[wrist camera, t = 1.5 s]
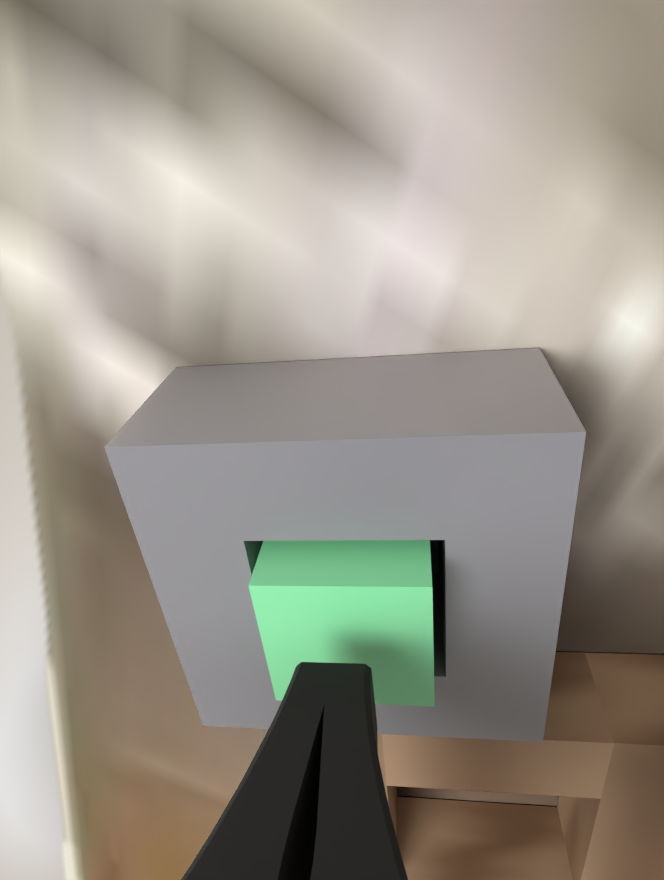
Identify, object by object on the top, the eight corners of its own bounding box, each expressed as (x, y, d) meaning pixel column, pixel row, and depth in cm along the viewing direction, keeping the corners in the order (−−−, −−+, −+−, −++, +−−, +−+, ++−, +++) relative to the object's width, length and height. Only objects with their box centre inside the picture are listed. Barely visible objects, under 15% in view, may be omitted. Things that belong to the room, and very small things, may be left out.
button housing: (539, 347, 13) (586, 431, 10) (516, 618, 18) (543, 741, 14) (175, 367, 14) (104, 447, 11) (240, 614, 19) (203, 725, 15)
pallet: (1081, 664, 16) (1211, 771, 13) (909, 868, 22) (976, 969, 19) (315, 646, 19) (300, 728, 17) (346, 827, 25) (339, 908, 23)
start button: (427, 493, 13) (432, 587, 11) (429, 603, 15) (434, 706, 12) (277, 496, 14) (248, 585, 11) (297, 602, 15) (276, 700, 13)
